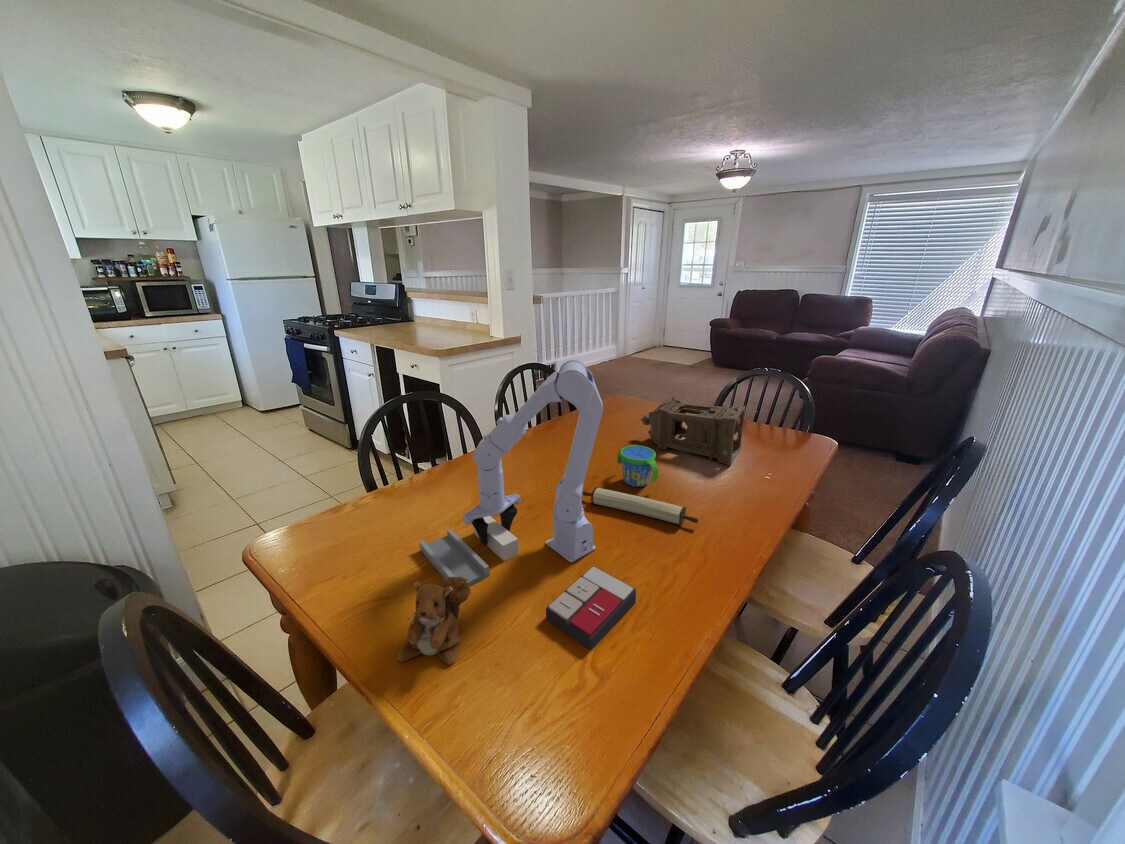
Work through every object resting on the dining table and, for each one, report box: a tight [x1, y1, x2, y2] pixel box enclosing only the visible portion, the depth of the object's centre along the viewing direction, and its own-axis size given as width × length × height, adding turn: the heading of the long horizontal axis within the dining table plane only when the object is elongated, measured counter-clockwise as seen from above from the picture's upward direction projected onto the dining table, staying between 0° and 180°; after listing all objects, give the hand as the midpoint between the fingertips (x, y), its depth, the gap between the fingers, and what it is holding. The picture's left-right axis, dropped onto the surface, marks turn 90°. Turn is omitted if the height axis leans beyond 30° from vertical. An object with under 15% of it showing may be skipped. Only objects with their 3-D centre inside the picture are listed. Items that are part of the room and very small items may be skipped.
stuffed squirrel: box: [396, 577, 472, 666], centre depth 76 cm, size 10×14×13 cm
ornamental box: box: [640, 396, 746, 467], centre depth 153 cm, size 35×18×18 cm, turn 57°
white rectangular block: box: [472, 516, 520, 562], centre depth 103 cm, size 14×4×4 cm, turn 40°
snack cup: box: [616, 444, 659, 488], centre depth 130 cm, size 16×10×10 cm
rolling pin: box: [582, 486, 699, 527], centre depth 115 cm, size 32×6×5 cm, turn 63°
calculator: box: [545, 565, 637, 651], centre depth 83 cm, size 11×4×15 cm
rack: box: [418, 528, 490, 587], centre depth 96 cm, size 18×8×2 cm, turn 40°
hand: (495, 538), depth 103 cm, fingers open, 5 cm apart
